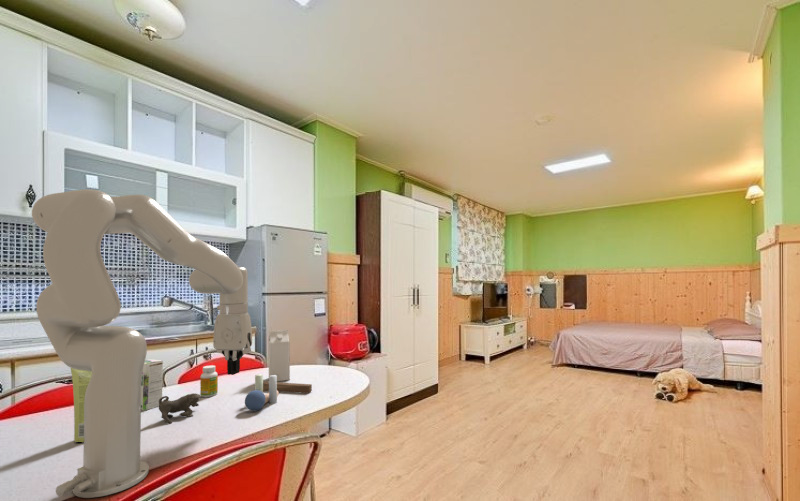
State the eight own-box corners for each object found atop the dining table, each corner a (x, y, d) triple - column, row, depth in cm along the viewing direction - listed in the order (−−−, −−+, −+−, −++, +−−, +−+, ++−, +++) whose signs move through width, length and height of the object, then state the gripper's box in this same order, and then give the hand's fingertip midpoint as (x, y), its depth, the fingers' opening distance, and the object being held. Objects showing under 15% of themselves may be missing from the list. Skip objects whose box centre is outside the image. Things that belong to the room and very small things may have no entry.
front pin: (264, 398, 124) (279, 390, 132) (258, 396, 125) (272, 388, 133) (263, 406, 124) (278, 397, 132) (257, 404, 125) (271, 395, 133)
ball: (272, 395, 123) (263, 414, 120) (256, 390, 125) (247, 409, 122) (262, 390, 118) (253, 411, 115) (246, 385, 120) (237, 405, 117)
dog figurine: (163, 426, 109) (163, 399, 109) (154, 421, 112) (154, 395, 113) (206, 412, 118) (206, 388, 119) (197, 409, 122) (197, 385, 122)
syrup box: (133, 408, 123) (133, 362, 124) (151, 402, 128) (152, 358, 129) (144, 411, 121) (145, 363, 121) (163, 405, 126) (163, 359, 127)
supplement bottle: (210, 397, 132) (210, 368, 133) (196, 397, 133) (196, 368, 134) (220, 392, 138) (221, 365, 138) (207, 392, 139) (207, 364, 139)
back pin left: (260, 402, 126) (260, 376, 127) (253, 402, 127) (253, 376, 127) (264, 400, 129) (264, 374, 129) (258, 399, 129) (258, 374, 130)
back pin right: (274, 403, 125) (274, 377, 126) (267, 403, 126) (267, 376, 126) (278, 401, 128) (278, 375, 128) (271, 400, 128) (271, 374, 129)
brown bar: (309, 393, 135) (309, 386, 135) (258, 390, 140) (258, 383, 140) (311, 391, 137) (311, 384, 137) (261, 388, 142) (261, 381, 142)
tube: (84, 434, 104) (86, 360, 105) (105, 433, 104) (106, 360, 105) (68, 444, 98) (70, 366, 99) (90, 443, 99) (91, 365, 100)
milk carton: (268, 378, 155) (268, 330, 156) (286, 375, 158) (286, 328, 159) (270, 382, 149) (270, 332, 150) (289, 380, 152) (289, 331, 153)
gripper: (202, 310, 111) (201, 375, 110) (248, 311, 108) (248, 378, 107) (220, 308, 118) (220, 369, 117) (264, 308, 115) (264, 371, 114)
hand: (233, 373), depth 112 cm, fingers closed
